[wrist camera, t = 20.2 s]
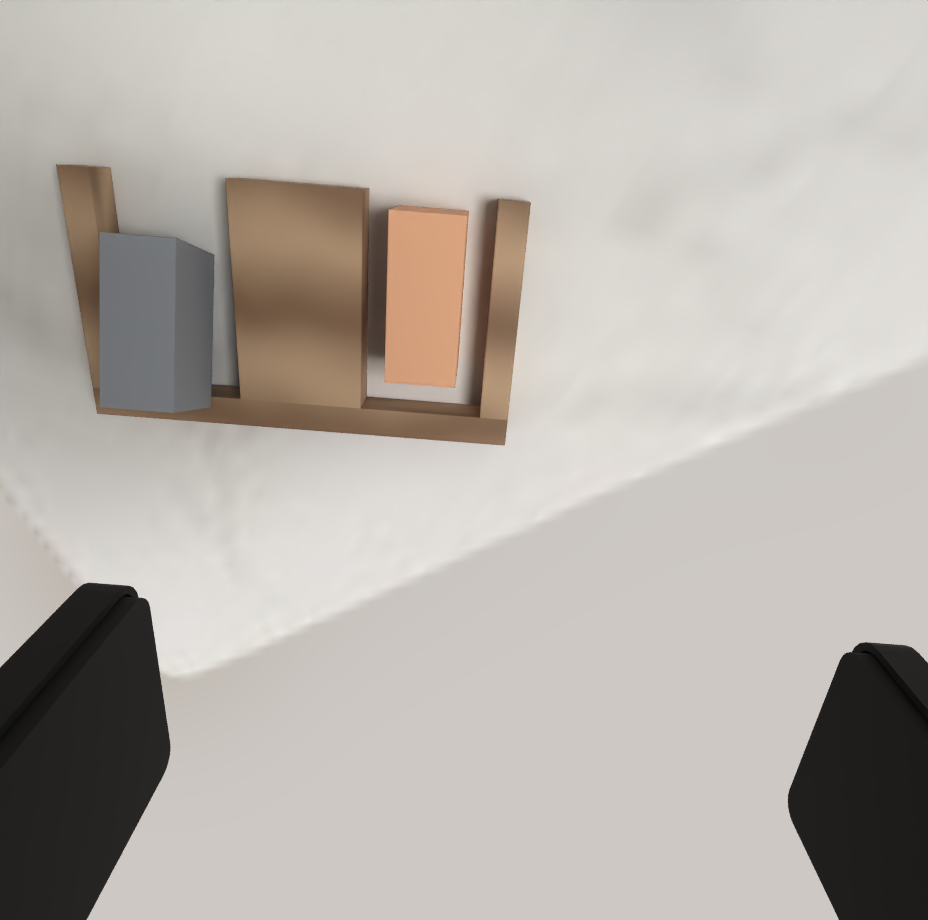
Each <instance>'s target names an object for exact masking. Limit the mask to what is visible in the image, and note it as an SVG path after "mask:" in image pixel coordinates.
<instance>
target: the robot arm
mask: <svg viewBox="0 0 928 920" xmlns="http://www.w3.org/2000/svg"><path fill="white" fill-rule="evenodd" d="M169 756H170V739H169V732H168V726H167V719H166V712H165V705H164V699H163V692H162V685H161V678H160V672H159V665H158V658H157V652H156V645H155V638H154V631H153V625H152V618H151V611H150V606H149V603H148V601H147V600H146V599H144V598H138V594H137V592H136V590H135V589H134V588H133V587H131V586H124V585H111V584H98V583H86V584H83V585H82V586H80V587H79V588H78V589H77V590H76V591H75V592H74V593H73V594H72V595H71V596H70V597H69V598H68V599H67V600H66V601H65V602H64V603H63V604H62V605H61V606H60V607H59V608H58V609H57V610H56V611H55V612H54V613H53V614H52V615H51V616H50V617H49V619H47V620H46V622H45V623H44V624H43V625H42V626H41V627H40V628H39V629H38V630H37V631H36V632H35V633H34V634H33V635H32V636H31V637H30V638H29V639H28V640H27V641H26V642H25V643H24V644H23V645H22V646H21V647H20V648H19V649H18V650H17V651H16V652H15V653H14V654H13V655H12V656H11V657H10V658H9V659H8V660H7V661H6V662H5V663H4V664H3V665H2V666H1V668H0V920H86V919H87V918H88V916H89V914H90V912H91V910H92V909H93V907H94V905H95V903H96V901H97V899H98V897H99V895H100V893H101V891H102V890H103V888H104V886H105V884H106V882H107V880H108V878H109V877H110V875H111V873H112V871H113V869H114V867H115V865H116V863H117V861H118V860H119V858H120V856H121V854H122V852H123V850H124V848H125V846H126V845H127V843H128V841H129V839H130V837H131V835H132V833H133V831H134V830H135V827H136V826H137V824H138V822H139V820H140V818H141V816H142V814H143V813H144V811H145V809H146V807H147V805H148V803H149V801H150V799H151V797H152V796H153V793H154V792H155V790H156V788H157V786H158V784H159V782H160V781H161V779H162V777H163V775H164V773H165V770H166V768H167V764H168V760H169ZM788 808H789V813H790V817H791V820H792V822H793V824H794V826H795V829H796V831H797V833H798V835H799V837H800V839H801V841H802V843H803V845H804V847H805V849H806V851H807V854H808V856H809V858H810V860H811V862H812V864H813V866H814V868H815V870H816V872H817V874H818V877H819V879H820V881H821V883H822V885H823V887H824V889H825V891H826V893H827V895H828V898H829V900H830V901H831V904H832V906H833V908H834V910H835V912H836V914H837V916H838V918H839V920H928V663H927V662H926V661H925V660H924V658H923V657H922V656H921V655H920V654H919V653H918V652H916V651H915V650H914V649H913V648H911V647H908V646H905V645H892V644H880V643H867V642H865V643H860V644H858V645H857V646H856V647H855V648H854V650H853V651H852V652H849V653H846V654H844V655H843V656H842V658H841V660H840V662H839V665H838V667H837V670H836V672H835V675H834V677H833V680H832V682H831V685H830V688H829V690H828V693H827V695H826V698H825V700H824V703H823V706H822V708H821V710H820V713H819V716H818V718H817V721H816V723H815V726H814V729H813V731H812V734H811V736H810V739H809V741H808V744H807V746H806V749H805V751H804V754H803V757H802V759H801V762H800V764H799V767H798V769H797V772H796V775H795V777H794V780H793V782H792V785H791V787H790V790H789V794H788Z"/></svg>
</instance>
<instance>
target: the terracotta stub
mask: <svg viewBox="0 0 928 920" xmlns="http://www.w3.org/2000/svg"><path fill="white" fill-rule="evenodd" d="M468 215H469V211H463V210H451V209H438V208H425V207H413V206H397V207H395V208H392V209H389V218H388V260H387V301H386V343H385V382H388V383H401V384H414V385H427V386H440V387H453V388H455V384H456V376H457V368H458V356H459V342H460V328H461V314H462V300H463V285H464V271H465V257H466V243H467V229H468Z"/></svg>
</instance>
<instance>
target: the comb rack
mask: <svg viewBox="0 0 928 920" xmlns="http://www.w3.org/2000/svg"><path fill="white" fill-rule="evenodd" d="M56 166H57V172H58V178H59V184H60V190H61V196H62V202H63V208H64V215H65V221H66V227H67V233H68V239H69V245H70V251H71V257H72V263H73V269H74V275H75V281H76V287H77V293H78V300H79V306H80V312H81V318H82V324H83V330H84V336H85V342H86V348H87V354H88V360H89V366H90V372H91V379H92V385H93V391H94V397H95V403H96V409H97V414H109V415H122V416H134V417H147V418H160V419H173V420H186V421H198V422H211V423H224V424H237V425H250V426H262V427H275V428H288V429H301V430H314V431H326V432H339V433H352V434H365V435H378V436H390V437H403V438H416V439H429V440H442V441H454V442H467V443H480V444H493V445H505V439H506V429H507V420H508V411H509V401H510V392H511V383H512V373H513V364H514V355H515V345H516V336H517V327H518V317H519V308H520V299H521V289H522V280H523V271H524V261H525V252H526V243H527V233H528V224H529V215H530V205H531V203H530V202H529V201H520V200H507V199H498V208H497V220H496V231H495V242H494V254H493V265H492V276H491V288H490V299H489V310H488V322H487V333H486V344H485V356H484V367H483V378H482V390H481V401H480V406H476V405H463V404H451V403H438V402H425V401H412V400H400V399H387V398H374V397H366V396H367V321H368V246H369V188H358V187H345V186H333V185H320V184H308V183H295V182H283V181H271V180H258V179H246V178H225V179H226V194H227V208H228V222H229V237H230V251H231V266H232V280H233V295H234V309H235V324H236V338H237V353H238V367H239V382H240V387H234V386H221V385H211V407H209V408H202V409H196V410H189V411H183V412H176V413H168V412H155V411H143V410H130V409H117V408H104V407H100V233H99V232H105V233H117V234H119V229H118V221H117V214H116V206H115V199H114V192H113V184H112V177H111V169H110V168H109V167H96V166H84V165H56Z"/></svg>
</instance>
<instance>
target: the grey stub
mask: <svg viewBox="0 0 928 920" xmlns="http://www.w3.org/2000/svg"><path fill="white" fill-rule="evenodd" d="M99 233H100V407H104V408H117V409H130V410H143V411H155V412H168V413H176V412H183V411H189V410H196V409H202V408H209V407H211V378H212V334H213V290H214V255H213V254H211V253H208V252H206V251H204V250H202V249H199V248H197V247H195V246H193V245H190V244H188V243H186V242H184V241H181V240H179V239H177V238H167V237H155V236H142V235H130V234H117V233H105V232H99Z"/></svg>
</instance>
